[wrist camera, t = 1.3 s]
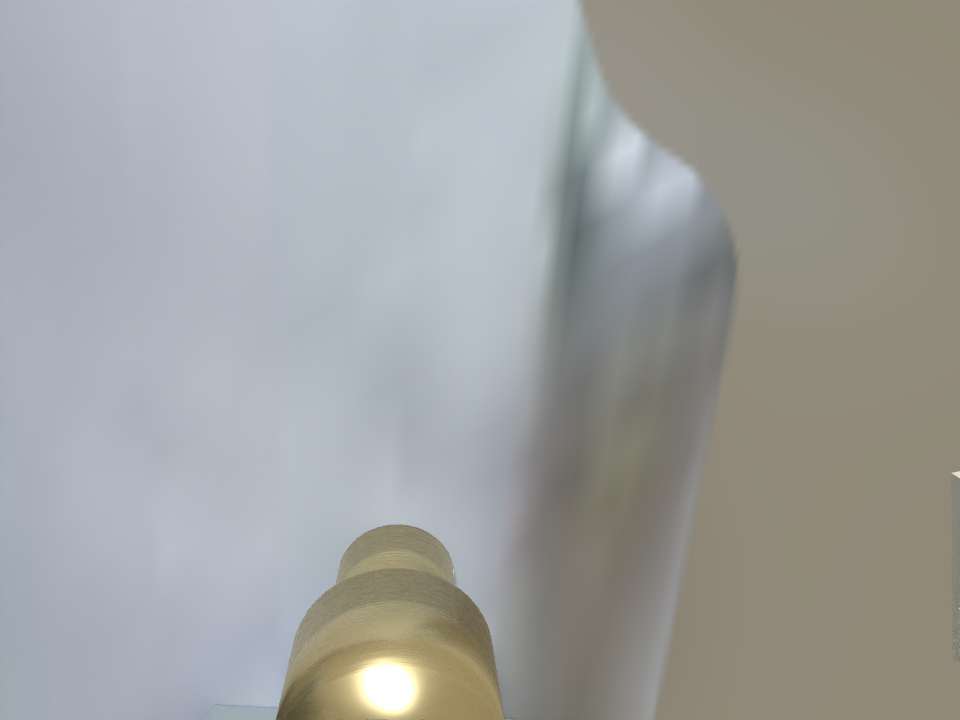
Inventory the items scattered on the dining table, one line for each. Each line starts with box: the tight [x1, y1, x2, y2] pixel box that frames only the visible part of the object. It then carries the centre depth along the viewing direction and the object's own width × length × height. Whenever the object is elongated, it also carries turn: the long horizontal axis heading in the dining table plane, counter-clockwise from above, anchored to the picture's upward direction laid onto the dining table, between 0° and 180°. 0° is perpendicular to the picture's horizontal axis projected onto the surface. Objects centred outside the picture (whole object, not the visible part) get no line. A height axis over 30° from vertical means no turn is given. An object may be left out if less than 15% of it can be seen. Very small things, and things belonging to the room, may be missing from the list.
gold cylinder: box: [276, 525, 504, 720], centre depth 26 cm, size 6×6×10 cm
